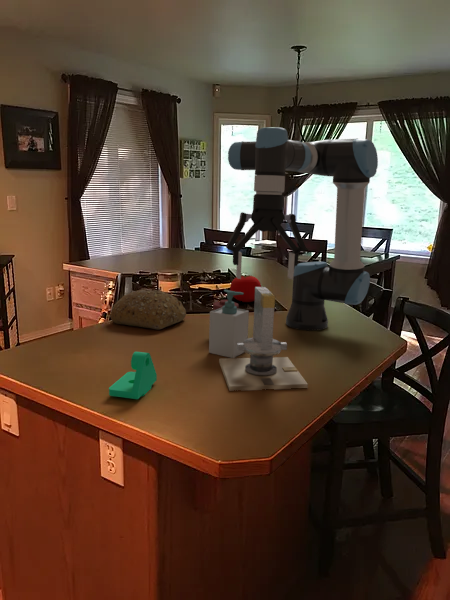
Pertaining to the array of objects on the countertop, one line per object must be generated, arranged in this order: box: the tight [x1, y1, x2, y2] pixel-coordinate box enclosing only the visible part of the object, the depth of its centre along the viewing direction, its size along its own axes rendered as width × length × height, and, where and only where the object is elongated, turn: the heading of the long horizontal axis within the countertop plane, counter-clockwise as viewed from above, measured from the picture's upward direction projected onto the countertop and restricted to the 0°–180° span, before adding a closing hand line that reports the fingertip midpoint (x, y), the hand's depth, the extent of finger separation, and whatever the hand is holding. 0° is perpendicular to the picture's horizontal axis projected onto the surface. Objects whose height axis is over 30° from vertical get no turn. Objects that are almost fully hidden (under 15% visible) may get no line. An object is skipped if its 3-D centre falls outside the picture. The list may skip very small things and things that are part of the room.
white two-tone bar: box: [237, 286, 288, 357], centre depth 132 cm, size 13×11×16 cm
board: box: [218, 356, 309, 392], centre depth 135 cm, size 20×20×2 cm
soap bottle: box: [208, 289, 250, 358], centre depth 151 cm, size 9×9×19 cm
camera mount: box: [108, 351, 158, 400], centre depth 122 cm, size 12×8×10 cm, turn 167°
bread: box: [109, 288, 187, 330], centre depth 181 cm, size 24×21×12 cm
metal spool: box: [245, 354, 277, 376], centre depth 135 cm, size 8×8×6 cm
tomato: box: [229, 274, 262, 303], centre depth 218 cm, size 13×14×12 cm
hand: (264, 278), depth 129 cm, fingers open, 13 cm apart
